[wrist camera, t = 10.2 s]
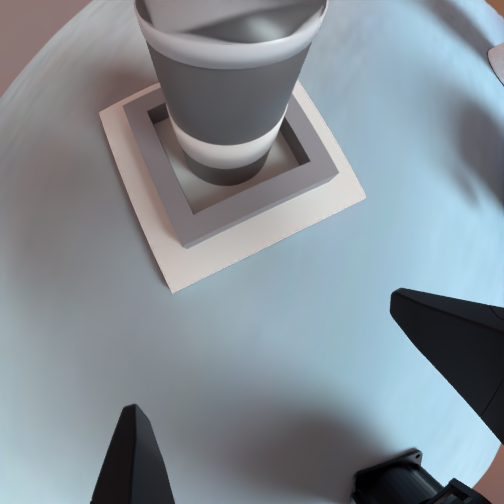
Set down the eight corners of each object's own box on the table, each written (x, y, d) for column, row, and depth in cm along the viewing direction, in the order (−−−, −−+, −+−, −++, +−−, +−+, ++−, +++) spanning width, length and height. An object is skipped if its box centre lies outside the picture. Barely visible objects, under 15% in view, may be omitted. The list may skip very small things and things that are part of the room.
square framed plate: (360, 200, 21) (380, 190, 18) (175, 292, 19) (165, 295, 16) (269, 50, 21) (274, 26, 18) (103, 118, 20) (88, 99, 17)
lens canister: (282, 127, 20) (346, -24, 7) (248, 200, 19) (291, 76, 6) (206, 98, 19) (195, -62, 6) (167, 167, 19) (95, 25, 6)
